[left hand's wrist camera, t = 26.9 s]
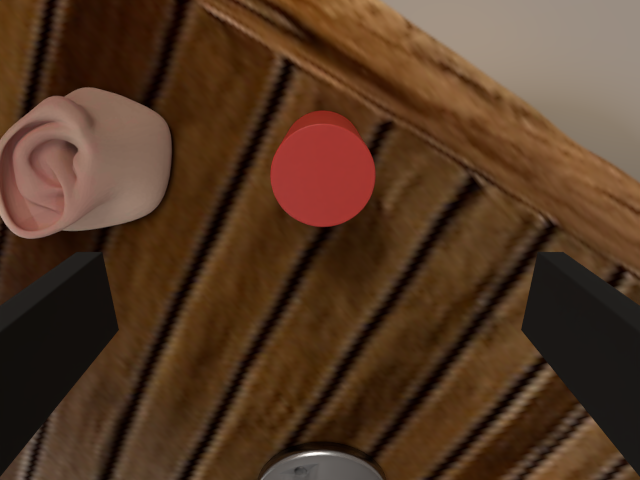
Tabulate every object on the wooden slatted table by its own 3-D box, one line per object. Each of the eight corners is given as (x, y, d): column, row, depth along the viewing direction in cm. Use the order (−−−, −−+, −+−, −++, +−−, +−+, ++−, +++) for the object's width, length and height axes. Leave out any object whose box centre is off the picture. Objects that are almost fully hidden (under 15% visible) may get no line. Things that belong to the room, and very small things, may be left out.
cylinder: (289, 194, 34) (279, 232, 26) (277, 116, 32) (261, 131, 24) (365, 185, 34) (379, 221, 26) (358, 105, 31) (371, 116, 23)
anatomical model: (141, 86, 27) (171, 244, 31) (162, 84, 31) (187, 226, 35) (-55, 93, 27) (3, 249, 32) (-10, 91, 31) (36, 231, 35)
